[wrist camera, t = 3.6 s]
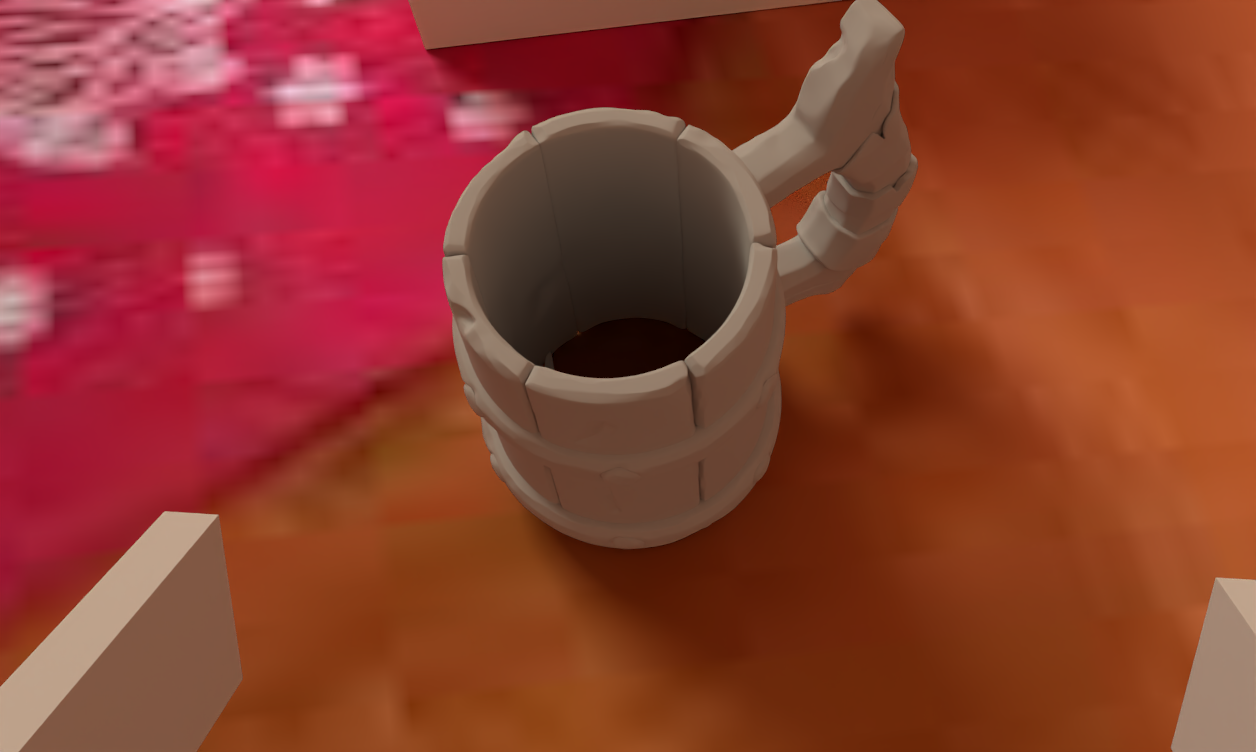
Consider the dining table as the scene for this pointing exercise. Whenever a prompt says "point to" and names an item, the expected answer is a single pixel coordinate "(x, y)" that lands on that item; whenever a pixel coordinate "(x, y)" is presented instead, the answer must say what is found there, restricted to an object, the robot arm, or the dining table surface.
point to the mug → (664, 288)
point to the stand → (559, 16)
